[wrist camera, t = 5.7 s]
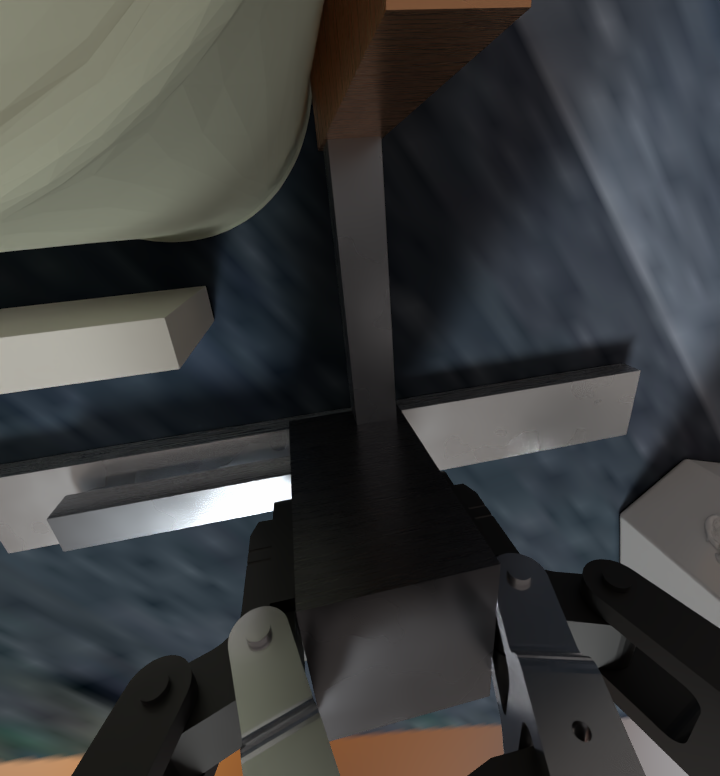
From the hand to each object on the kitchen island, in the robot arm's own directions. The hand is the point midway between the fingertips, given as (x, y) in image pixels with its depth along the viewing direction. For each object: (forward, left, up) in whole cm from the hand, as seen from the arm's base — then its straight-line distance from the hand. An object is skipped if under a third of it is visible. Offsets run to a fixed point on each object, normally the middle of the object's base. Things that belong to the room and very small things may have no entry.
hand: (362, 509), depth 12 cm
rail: (0, 0, -4) cm, 4 cm away
